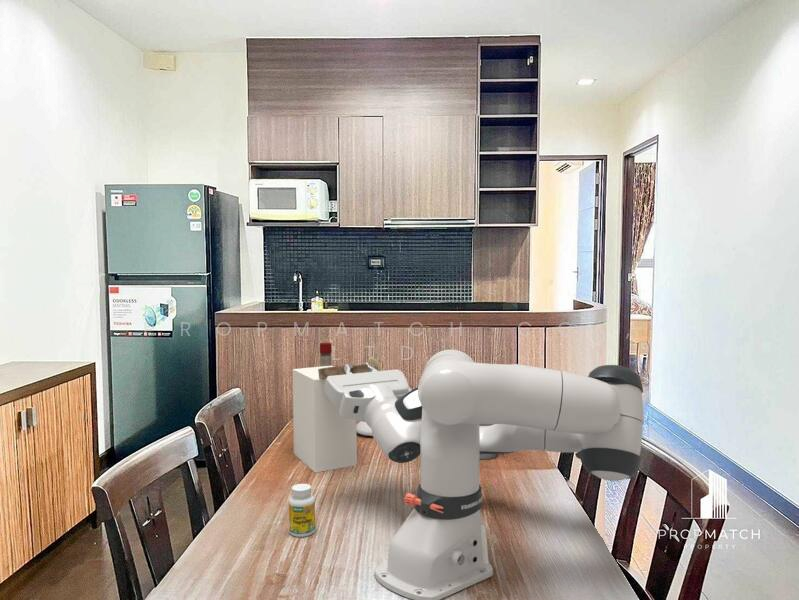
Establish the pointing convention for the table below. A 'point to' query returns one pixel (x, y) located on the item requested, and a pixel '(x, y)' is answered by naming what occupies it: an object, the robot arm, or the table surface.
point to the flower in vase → (362, 426)
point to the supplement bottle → (301, 511)
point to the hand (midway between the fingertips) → (355, 365)
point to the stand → (320, 425)
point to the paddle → (341, 370)
